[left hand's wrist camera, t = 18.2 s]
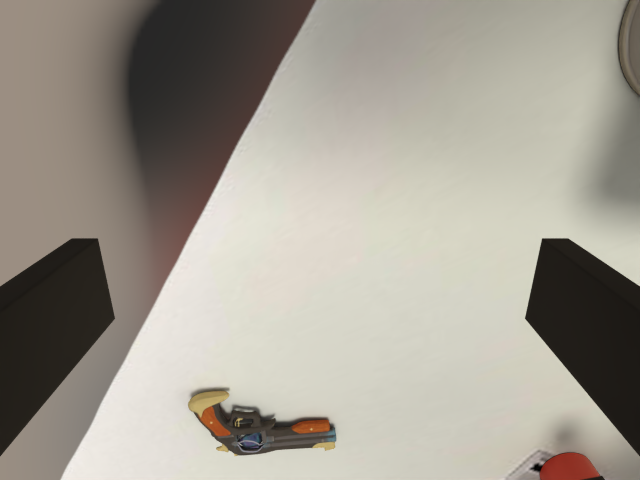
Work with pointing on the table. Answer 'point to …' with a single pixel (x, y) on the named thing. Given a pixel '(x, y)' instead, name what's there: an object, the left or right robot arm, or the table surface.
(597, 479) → the right robot arm
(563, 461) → the canister
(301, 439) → the toy gun
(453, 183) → the table surface
